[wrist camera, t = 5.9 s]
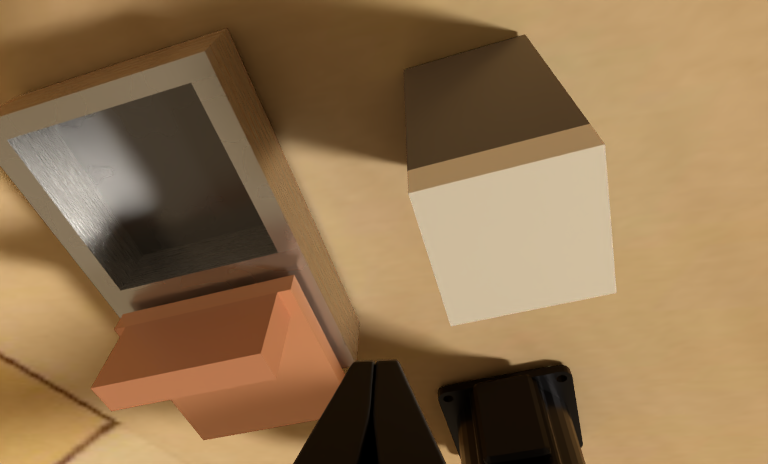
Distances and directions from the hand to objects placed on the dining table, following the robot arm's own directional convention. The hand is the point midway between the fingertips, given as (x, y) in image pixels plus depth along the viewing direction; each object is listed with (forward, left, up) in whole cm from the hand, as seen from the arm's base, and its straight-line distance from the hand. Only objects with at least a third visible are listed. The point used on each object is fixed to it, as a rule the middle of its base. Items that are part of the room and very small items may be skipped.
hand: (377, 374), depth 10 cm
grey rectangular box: (-2, +8, -11) cm, 14 cm away
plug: (0, -3, -11) cm, 11 cm away
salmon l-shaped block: (-7, +8, -8) cm, 13 cm away
